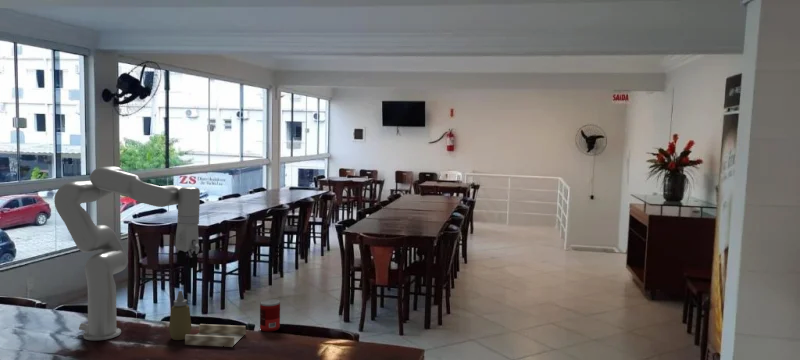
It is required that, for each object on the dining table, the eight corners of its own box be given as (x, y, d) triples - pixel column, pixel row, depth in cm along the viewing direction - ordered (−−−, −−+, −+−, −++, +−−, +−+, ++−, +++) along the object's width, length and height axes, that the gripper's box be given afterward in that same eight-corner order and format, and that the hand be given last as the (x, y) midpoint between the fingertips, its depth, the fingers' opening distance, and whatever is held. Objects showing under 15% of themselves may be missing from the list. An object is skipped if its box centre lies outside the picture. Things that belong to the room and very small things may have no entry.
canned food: (283, 327, 223) (283, 300, 222) (272, 333, 215) (273, 305, 215) (267, 324, 225) (267, 298, 225) (256, 330, 218) (256, 303, 217)
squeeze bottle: (183, 342, 202) (183, 294, 201) (164, 340, 204) (164, 293, 203) (195, 335, 210) (196, 289, 209) (177, 333, 212) (177, 287, 211)
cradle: (185, 344, 200) (185, 335, 200) (200, 332, 213) (200, 323, 213) (233, 346, 199) (233, 337, 199) (245, 334, 212) (245, 325, 212)
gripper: (168, 217, 207) (167, 262, 208) (188, 223, 195) (187, 270, 196) (187, 216, 213) (186, 260, 214) (208, 222, 201) (207, 268, 202)
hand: (186, 265), depth 205 cm, fingers open, 9 cm apart
